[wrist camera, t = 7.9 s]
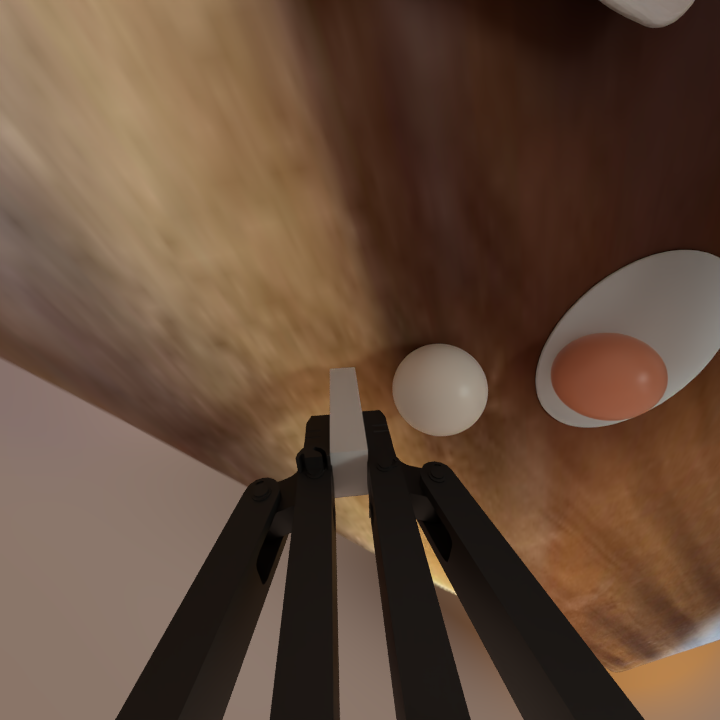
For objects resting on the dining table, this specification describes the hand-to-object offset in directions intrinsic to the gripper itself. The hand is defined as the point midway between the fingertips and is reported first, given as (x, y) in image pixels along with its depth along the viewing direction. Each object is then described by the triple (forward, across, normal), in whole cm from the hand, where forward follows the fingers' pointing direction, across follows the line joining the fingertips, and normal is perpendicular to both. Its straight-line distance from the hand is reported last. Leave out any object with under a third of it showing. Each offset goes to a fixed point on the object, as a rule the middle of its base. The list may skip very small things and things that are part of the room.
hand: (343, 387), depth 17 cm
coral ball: (-1, +16, 0) cm, 16 cm away
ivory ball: (-1, +6, 0) cm, 6 cm away
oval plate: (+2, +21, 0) cm, 21 cm away
